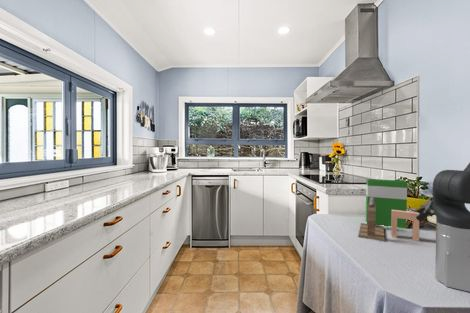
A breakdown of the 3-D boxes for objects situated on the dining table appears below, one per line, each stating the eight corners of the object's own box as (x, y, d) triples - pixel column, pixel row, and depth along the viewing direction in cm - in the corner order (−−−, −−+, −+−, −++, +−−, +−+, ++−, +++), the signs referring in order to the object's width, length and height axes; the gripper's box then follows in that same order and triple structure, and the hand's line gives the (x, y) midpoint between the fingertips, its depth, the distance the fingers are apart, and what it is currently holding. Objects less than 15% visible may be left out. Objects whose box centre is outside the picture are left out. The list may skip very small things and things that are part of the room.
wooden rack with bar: (384, 241, 101) (385, 204, 101) (358, 236, 106) (359, 202, 106) (383, 228, 119) (383, 197, 119) (360, 225, 124) (361, 195, 124)
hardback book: (402, 224, 126) (403, 180, 126) (406, 228, 120) (407, 182, 119) (365, 220, 134) (366, 178, 133) (366, 223, 127) (367, 180, 127)
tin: (425, 228, 120) (426, 212, 120) (419, 228, 121) (419, 212, 121) (410, 220, 135) (410, 206, 135) (404, 220, 136) (404, 205, 135)
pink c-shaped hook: (418, 241, 102) (419, 213, 102) (391, 236, 107) (392, 210, 107) (417, 239, 105) (418, 212, 104) (391, 234, 110) (391, 209, 110)
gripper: (464, 202, 90) (427, 228, 96) (453, 198, 103) (421, 221, 108) (445, 188, 93) (410, 214, 99) (437, 185, 106) (406, 208, 111)
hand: (416, 217), depth 103 cm, fingers open, 8 cm apart
